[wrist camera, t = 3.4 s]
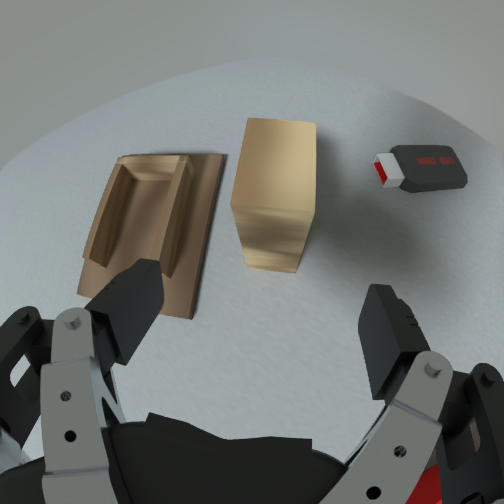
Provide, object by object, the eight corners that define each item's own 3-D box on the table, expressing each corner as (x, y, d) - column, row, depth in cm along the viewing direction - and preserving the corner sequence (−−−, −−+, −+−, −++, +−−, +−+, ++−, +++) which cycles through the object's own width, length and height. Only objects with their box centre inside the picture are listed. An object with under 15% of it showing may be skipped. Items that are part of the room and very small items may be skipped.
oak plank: (300, 209, 25) (315, 123, 15) (295, 273, 23) (314, 211, 13) (256, 205, 25) (247, 117, 15) (247, 268, 23) (230, 203, 13)
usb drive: (461, 189, 25) (472, 177, 23) (385, 197, 25) (395, 183, 23) (443, 155, 27) (453, 142, 24) (368, 157, 27) (375, 141, 24)
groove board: (224, 160, 27) (218, 134, 23) (192, 319, 22) (176, 313, 18) (125, 160, 28) (111, 139, 25) (82, 295, 23) (57, 286, 20)
